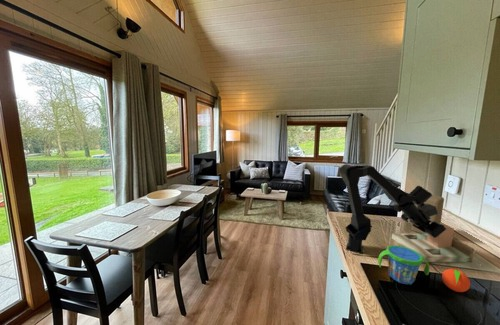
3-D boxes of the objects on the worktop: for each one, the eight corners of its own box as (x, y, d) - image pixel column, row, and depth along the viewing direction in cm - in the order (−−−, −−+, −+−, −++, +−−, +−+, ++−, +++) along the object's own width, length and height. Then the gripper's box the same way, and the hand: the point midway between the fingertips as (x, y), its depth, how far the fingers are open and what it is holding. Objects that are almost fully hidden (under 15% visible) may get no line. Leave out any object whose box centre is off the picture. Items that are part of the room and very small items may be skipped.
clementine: (469, 302, 67) (473, 282, 66) (440, 291, 72) (443, 272, 71) (467, 289, 73) (471, 270, 72) (440, 279, 78) (443, 261, 77)
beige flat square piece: (423, 261, 88) (425, 248, 87) (391, 238, 108) (392, 226, 107) (471, 262, 88) (473, 248, 87) (430, 238, 108) (432, 227, 107)
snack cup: (421, 275, 80) (425, 249, 78) (433, 294, 70) (437, 266, 69) (374, 265, 85) (376, 241, 84) (379, 282, 76) (382, 255, 74)
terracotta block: (437, 247, 95) (440, 228, 93) (426, 240, 101) (429, 222, 99) (451, 247, 95) (454, 228, 93) (439, 240, 101) (441, 222, 99)
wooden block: (439, 233, 114) (444, 197, 111) (433, 238, 108) (438, 200, 105) (417, 226, 122) (421, 192, 119) (410, 230, 116) (414, 195, 114)
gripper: (444, 206, 85) (467, 232, 87) (409, 193, 104) (429, 214, 105) (422, 224, 86) (445, 250, 88) (392, 208, 105) (411, 229, 106)
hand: (432, 234), depth 97 cm, fingers closed
